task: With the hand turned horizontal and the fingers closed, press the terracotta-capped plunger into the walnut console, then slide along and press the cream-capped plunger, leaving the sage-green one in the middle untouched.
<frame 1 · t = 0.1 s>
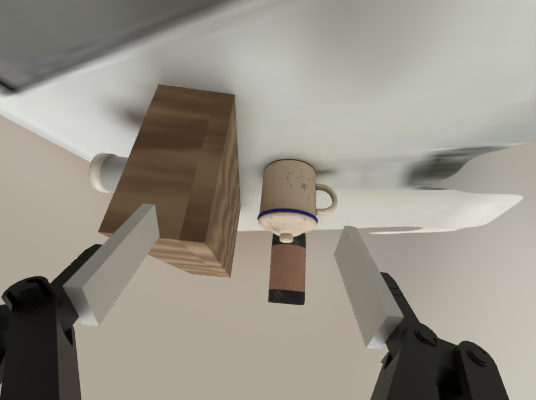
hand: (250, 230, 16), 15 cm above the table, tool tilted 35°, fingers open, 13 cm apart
travel mug: (290, 211, 54), on the table
teacup with lid: (298, 172, 37), on the table
cream button: (135, 176, 25), point 8 cm above the table, slide at 0.0 cm
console: (215, 169, 38), on the table
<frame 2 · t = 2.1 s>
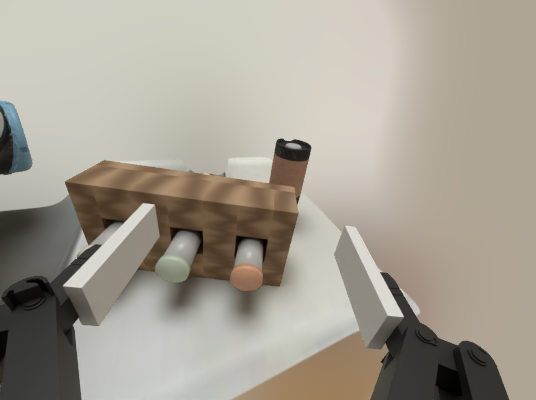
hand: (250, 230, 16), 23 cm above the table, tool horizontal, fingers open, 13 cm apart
travel mug: (278, 220, 57), on the table
terracotta button: (248, 261, 33), point 8 cm above the table, slide at 0.0 cm
cream button: (111, 244, 32), point 8 cm above the table, slide at 0.0 cm
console: (196, 258, 42), on the table
sage button: (181, 252, 32), point 8 cm above the table, slide at 0.0 cm
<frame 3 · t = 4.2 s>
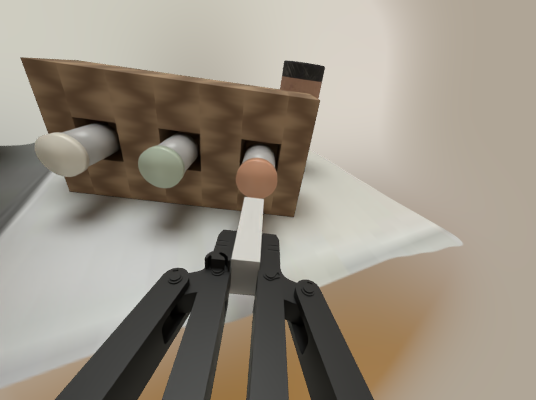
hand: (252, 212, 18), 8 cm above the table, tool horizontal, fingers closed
travel mug: (285, 167, 50), on the table
terracotta button: (258, 168, 26), point 8 cm above the table, slide at 0.0 cm
cream button: (84, 146, 25), point 8 cm above the table, slide at 0.0 cm
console: (193, 191, 35), on the table
sage button: (173, 157, 26), point 8 cm above the table, slide at 0.0 cm
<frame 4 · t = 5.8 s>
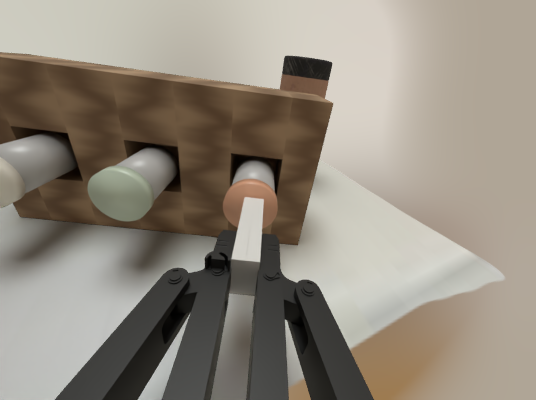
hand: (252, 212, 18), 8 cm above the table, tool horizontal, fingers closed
travel mug: (286, 178, 44), on the table
terracotta button: (253, 188, 21), point 8 cm above the table, slide at 0.5 cm, touching gripper
cream button: (24, 165, 19), point 8 cm above the table, slide at 0.0 cm
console: (175, 212, 29), on the table
sage button: (141, 178, 20), point 8 cm above the table, slide at 0.0 cm
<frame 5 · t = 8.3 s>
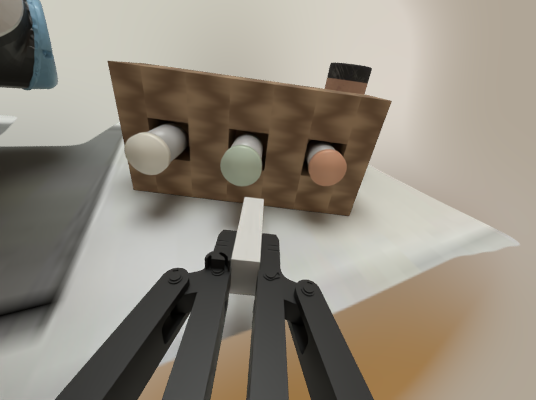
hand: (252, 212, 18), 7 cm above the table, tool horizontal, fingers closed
travel mug: (323, 167, 51), on the table
terracotta button: (322, 159, 29), point 8 cm above the table, slide at 2.8 cm
cream button: (161, 146, 26), point 8 cm above the table, slide at 0.0 cm
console: (246, 190, 36), on the table
sage button: (245, 156, 27), point 8 cm above the table, slide at 0.0 cm
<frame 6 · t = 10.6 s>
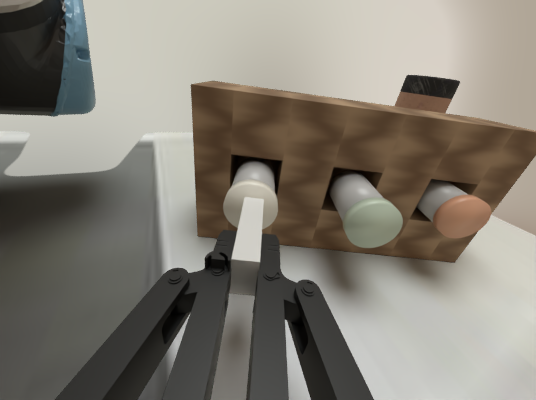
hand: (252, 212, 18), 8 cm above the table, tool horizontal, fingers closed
travel mug: (383, 190, 45), on the table
terracotta button: (440, 201, 24), point 8 cm above the table, slide at 2.8 cm
cream button: (253, 189, 21), point 8 cm above the table, slide at 0.6 cm, touching gripper
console: (323, 229, 30), on the table
sage button: (358, 204, 21), point 8 cm above the table, slide at 0.0 cm
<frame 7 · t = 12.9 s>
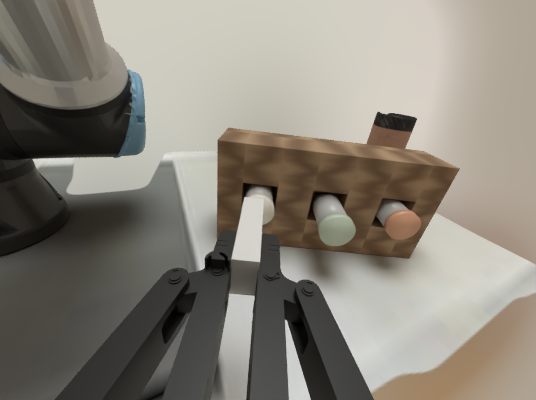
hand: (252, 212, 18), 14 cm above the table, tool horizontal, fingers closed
travel mug: (364, 201, 55), on the table
terracotta button: (391, 213, 33), point 8 cm above the table, slide at 2.8 cm
cream button: (259, 199, 32), point 8 cm above the table, slide at 2.8 cm
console: (311, 234, 40), on the table
sage button: (330, 216, 30), point 8 cm above the table, slide at 0.0 cm
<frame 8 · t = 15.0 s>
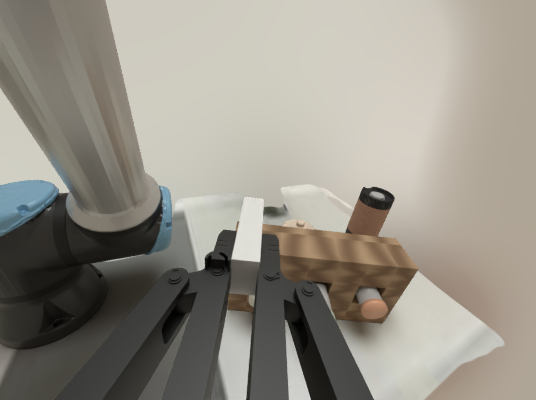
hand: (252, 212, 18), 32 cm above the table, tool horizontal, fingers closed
travel mug: (351, 254, 63), on the table
teacup with lid: (290, 253, 61), on the table
terracotta button: (367, 294, 42), point 8 cm above the table, slide at 2.8 cm
cream button: (262, 284, 41), point 8 cm above the table, slide at 2.8 cm
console: (304, 299, 48), on the table
sage button: (318, 303, 39), point 8 cm above the table, slide at 0.0 cm
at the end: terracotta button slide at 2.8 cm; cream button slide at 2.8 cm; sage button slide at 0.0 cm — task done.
